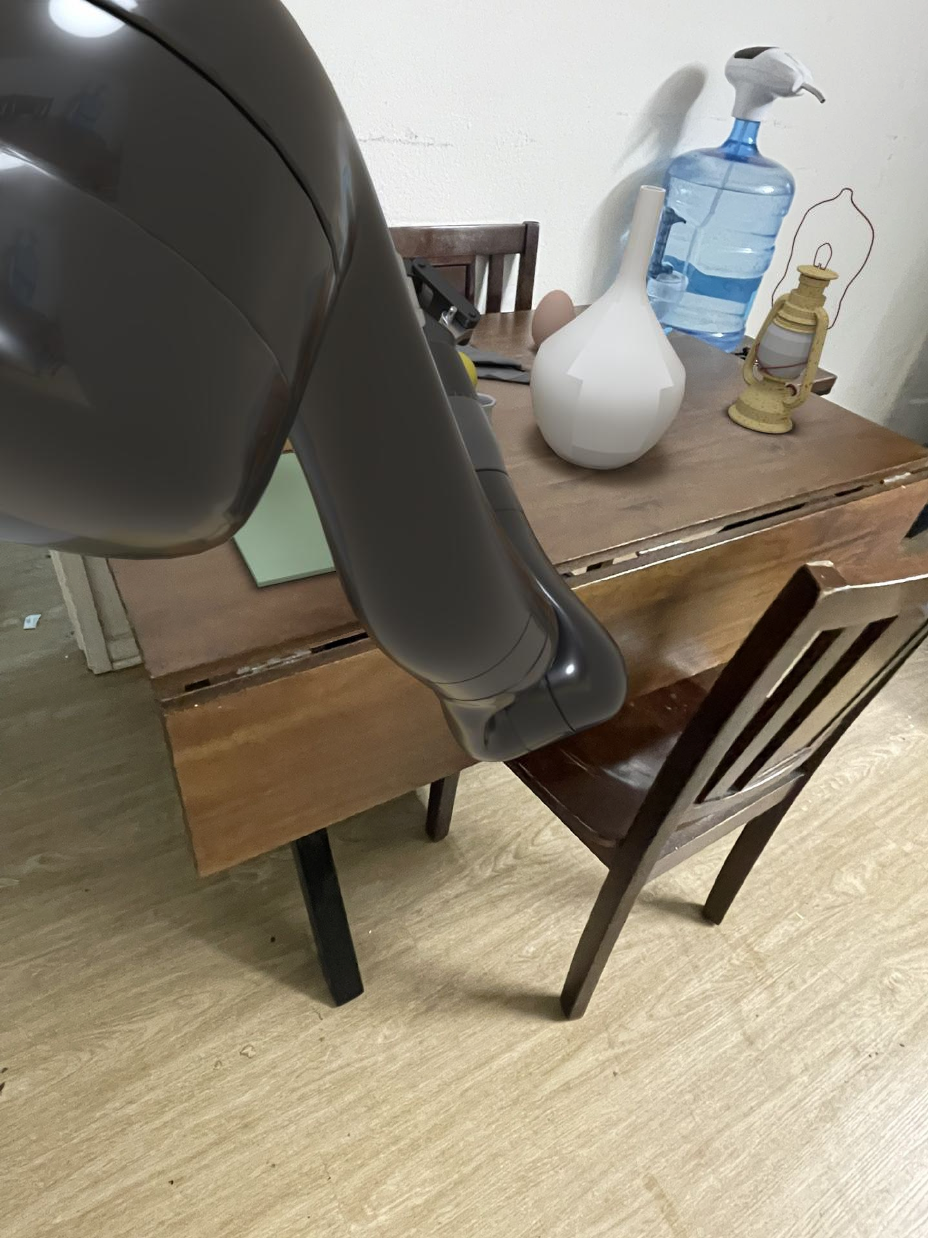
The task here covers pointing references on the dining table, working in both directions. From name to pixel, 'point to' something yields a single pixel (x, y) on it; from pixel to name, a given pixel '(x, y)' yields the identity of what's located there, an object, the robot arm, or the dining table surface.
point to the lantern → (788, 348)
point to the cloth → (494, 365)
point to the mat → (285, 530)
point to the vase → (611, 365)
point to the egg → (551, 315)
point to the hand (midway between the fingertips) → (340, 221)
